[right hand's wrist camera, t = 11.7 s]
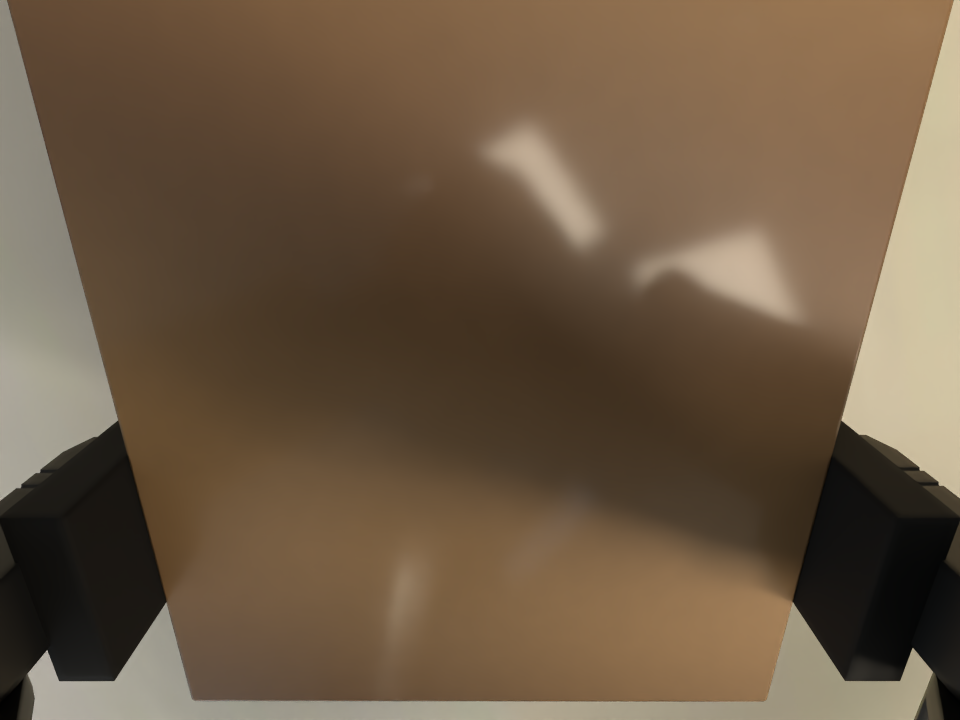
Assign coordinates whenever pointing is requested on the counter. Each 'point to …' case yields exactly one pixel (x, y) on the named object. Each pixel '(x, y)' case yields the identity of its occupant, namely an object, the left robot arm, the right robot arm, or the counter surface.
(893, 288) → the counter surface
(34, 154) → the counter surface
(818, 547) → the right robot arm
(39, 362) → the counter surface
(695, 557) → the cabinet
